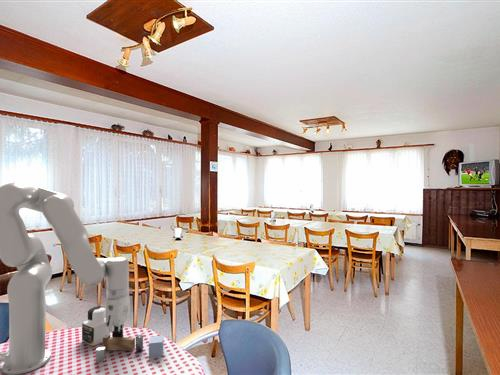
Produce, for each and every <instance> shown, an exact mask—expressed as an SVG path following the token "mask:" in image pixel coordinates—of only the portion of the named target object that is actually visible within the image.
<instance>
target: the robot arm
mask: <svg viewBox="0 0 500 375" xmlns="http://www.w3.org/2000/svg"><path fill="white" fill-rule="evenodd" d="M23 208H24V209H25V208H26V209H30V210H32V211H36V212H39V213H42V215H43V216H44V218H45V220H46V222H48V224H49V226H50V228H51V229H52V231H53V232H54V234H55V235H56V237H57V239H58V241H59V242H60V244H61V247H62V249H63V252H64V254H65V257H66V259H67V260H68V263H69V265H70V267H71V269H72V270H73V272H74V273H75V275H76V277H77V279H78V280H79V281H80V282H81V284H83V285H85V286H88V287H95V286H97V285H99V284H101V283H102V281H103V280H104V278H106V290H105V291H106V293H105V294H106V296H105V297H106V307H105V318H106V326H107V327H108V326H109V330H108V331H109V332H110V333H112V336H111V337H124V326H125V322H126V321H127V320H128V319H129V318H130V316H131V297H130V292H129V291H130V290H129V289H130V281H129V280H130V278H129V277H130V271H129V270H130V263H129V262H130V261H129V259H128V258H127V257H125V256H116V257H112V258H111V257H110V258H108V257H107V258H106V257H105V258H104V257H97V256H95V253H94V252H93V250H92V247H91V245H90V241H89V234H88V230H87V229H86V226H85V225H84V224H83V222H82V221H81V219H80V216H78V214H77V212H76V210H75V209H74V208H75V203H74V201H73V199H72V198H71V197H70V196H69V195H66V194H64V193H61V192H57V191H53V190H51V189H47V188H45V187H44V188H43V187H40V186H37V185H34V184H31V183H27V182H26V183H25V182H24V183H22V182H11V183H6V184H3V185H1V186H0V261H1V262H2V263H3V264H4V265H5V266H7V267H9V268H10V267H11V268H16V269H17V272H16V273H15V274H14V275H13V276H12V277H11V278H10V280H9V282H8V284H7V291H6V292H7V299H8V311H9V312H8V313H9V314H8V315H9V316H8V318H9V320H8V323H9V326H8V328H9V330H8V331H9V332H8V337H9V338H8V351H5V352H4V351H3V352H0V363H2V362H3V365H2V366H1V367H2V369H1V371H2V373H3V374H4V375H22V374H26V373H29V372H32V371H34V370H37V369H39V368H40V367H42V366H44V365H45V364H46V363H48V362H49V360H51V356H52V354H51V351H50V350H48V349H46V325H47V324H46V320H47V318H46V316H47V314H46V313H47V307H46V303H47V302H46V293H45V292H46V291H45V287H46V286H47V285H48V283H49V282H50V280H51V278H52V276H53V270H52V266H51V263H50V260H49V258H48V257H49V256H48V254H47V251H46V249H45V246H44V243H43V241H42V240H41V239H40V238H39V237H38V236H37V235H35V234H32V233H29V232H28V231H27V228H26V225H25V222H24V220H23V218H22V217H21V215H20V210H21V209H23Z"/></svg>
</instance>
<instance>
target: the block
mask: <svg viewBox="0 0 500 375" xmlns="http://www.w3.org/2000/svg"><path fill="white" fill-rule="evenodd" d="M163 353H164V335H156V336H153V335H152V336H150V337H149V341H148V358H159V357H163Z"/></svg>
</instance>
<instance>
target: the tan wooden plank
mask: <svg viewBox="0 0 500 375" xmlns="http://www.w3.org/2000/svg"><path fill="white" fill-rule="evenodd" d="M102 347H105V352H107V351H134V350H135V349H136V337H134V336H133V337H132V336H131V337H126V336H123V337H112V336H111V334H110V335H105V336H104V337H103V341H102Z"/></svg>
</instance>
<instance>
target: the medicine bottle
mask: <svg viewBox="0 0 500 375" xmlns="http://www.w3.org/2000/svg"><path fill="white" fill-rule="evenodd" d="M81 325H82V326H81V342H84V343H85V344H88V345H90V346H96V345H98V344H100V343H103V337H104V336H105V335H110V336H111V332H109V331H108V330H109V326H108V327H107V326H106V307H105V306H101V305H99V306H94V307H91V308H90V309H88V310H87V320H85V321H83V322H82V323H81Z"/></svg>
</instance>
